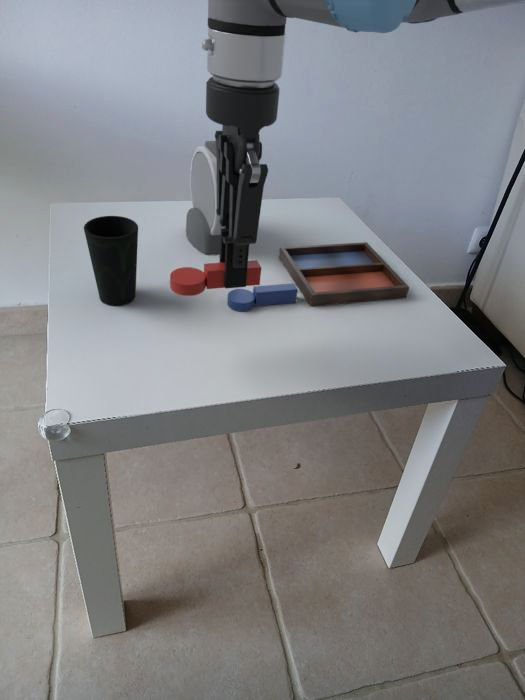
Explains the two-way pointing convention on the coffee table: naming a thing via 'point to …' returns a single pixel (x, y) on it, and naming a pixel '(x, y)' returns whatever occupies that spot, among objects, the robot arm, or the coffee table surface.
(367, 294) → the divided sorting tray
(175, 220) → the coffee table surface
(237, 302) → the blue disc-ended stick
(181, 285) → the red spoon
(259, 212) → the robot arm
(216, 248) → the alarm clock
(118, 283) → the cup
